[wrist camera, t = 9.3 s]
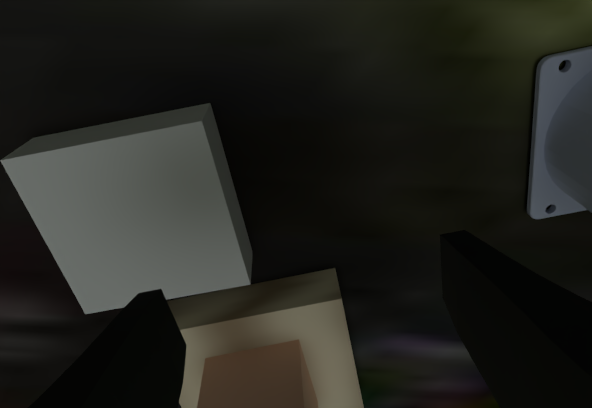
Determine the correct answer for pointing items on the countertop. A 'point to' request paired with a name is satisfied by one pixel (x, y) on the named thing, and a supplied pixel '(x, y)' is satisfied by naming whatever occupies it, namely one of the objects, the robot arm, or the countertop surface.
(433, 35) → the countertop surface
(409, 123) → the countertop surface
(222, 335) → the olive block
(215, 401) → the terracotta cube
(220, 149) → the grey block
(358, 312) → the countertop surface
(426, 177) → the countertop surface
